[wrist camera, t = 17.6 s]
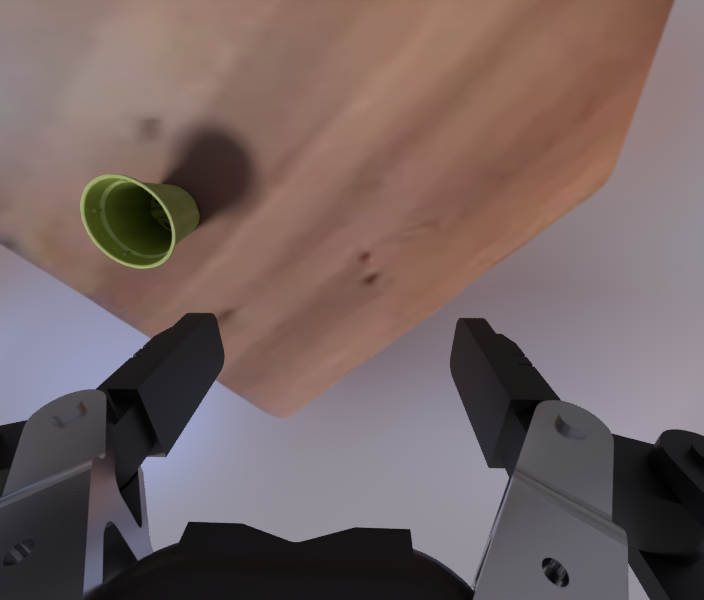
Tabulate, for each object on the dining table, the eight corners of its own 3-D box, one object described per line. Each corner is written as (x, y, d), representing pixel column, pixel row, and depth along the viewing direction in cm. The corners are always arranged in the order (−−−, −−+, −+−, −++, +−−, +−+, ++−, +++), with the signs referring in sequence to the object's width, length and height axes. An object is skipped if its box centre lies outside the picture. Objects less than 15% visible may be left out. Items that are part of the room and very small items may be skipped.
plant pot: (129, 219, 39) (70, 237, 31) (150, 152, 35) (90, 153, 27) (197, 258, 41) (158, 284, 33) (224, 199, 37) (188, 212, 30)
